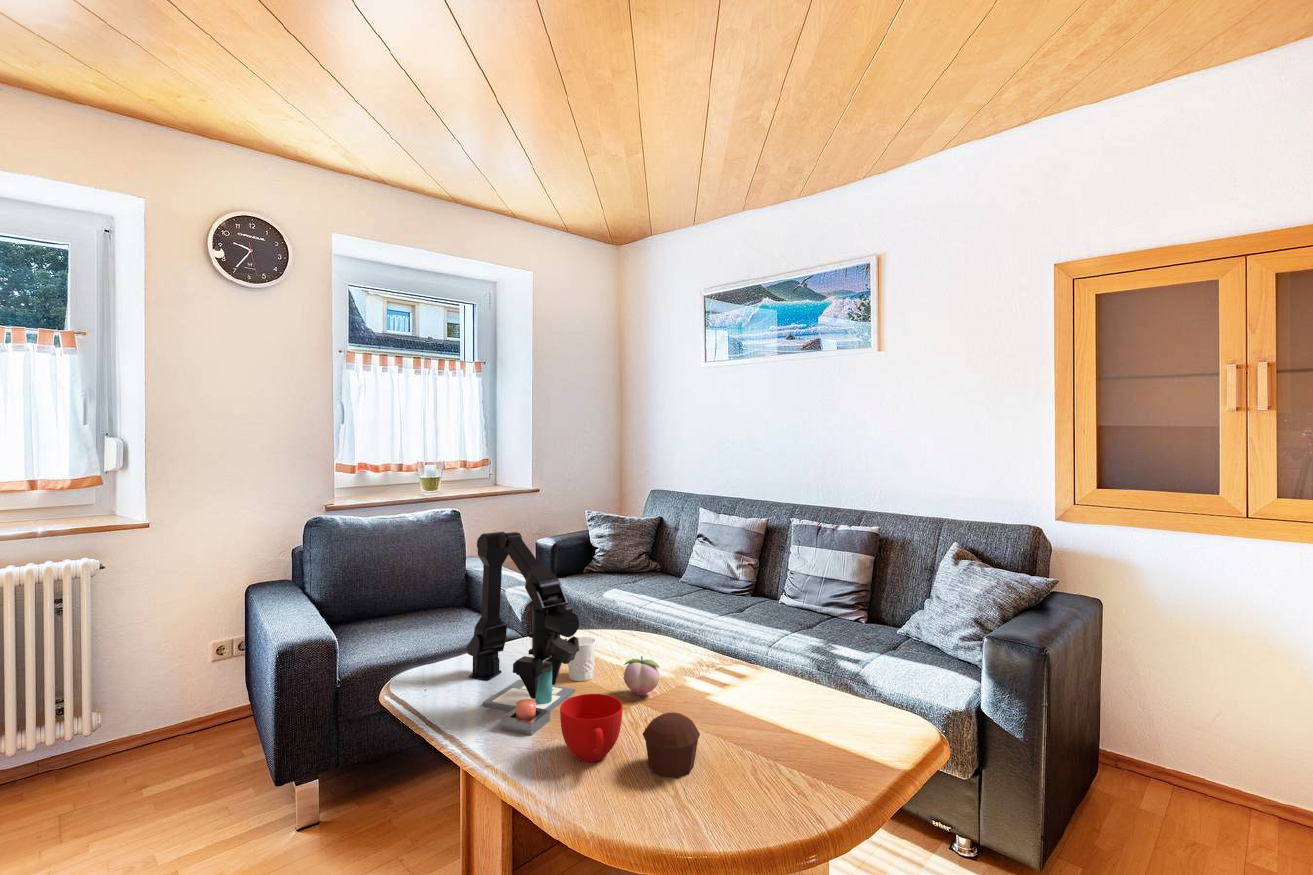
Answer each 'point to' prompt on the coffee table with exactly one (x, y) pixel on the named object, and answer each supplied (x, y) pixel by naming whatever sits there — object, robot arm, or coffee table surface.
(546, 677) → the marker
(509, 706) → the drawing board
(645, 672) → the decorative fruit
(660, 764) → the muffin
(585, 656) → the white cup
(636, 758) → the coffee table surface
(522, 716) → the button
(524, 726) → the button housing
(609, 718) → the ceramic cup
